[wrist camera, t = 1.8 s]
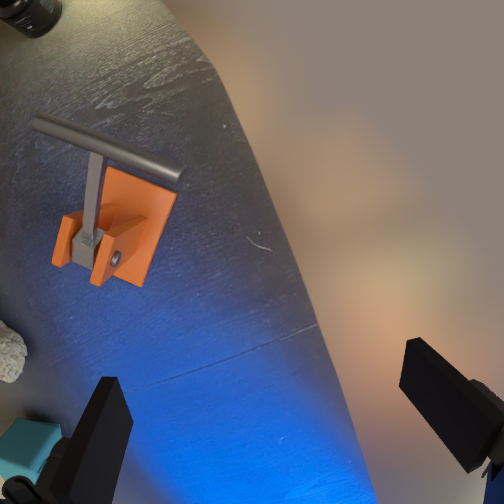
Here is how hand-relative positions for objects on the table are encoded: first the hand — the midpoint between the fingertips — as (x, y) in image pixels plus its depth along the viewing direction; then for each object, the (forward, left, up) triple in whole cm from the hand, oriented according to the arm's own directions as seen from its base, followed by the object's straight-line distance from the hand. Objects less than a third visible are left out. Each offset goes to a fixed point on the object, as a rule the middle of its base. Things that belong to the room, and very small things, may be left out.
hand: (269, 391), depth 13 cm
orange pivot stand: (+12, -8, -26) cm, 30 cm away
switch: (+8, -11, -13) cm, 19 cm away
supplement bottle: (+16, -42, -27) cm, 52 cm away
